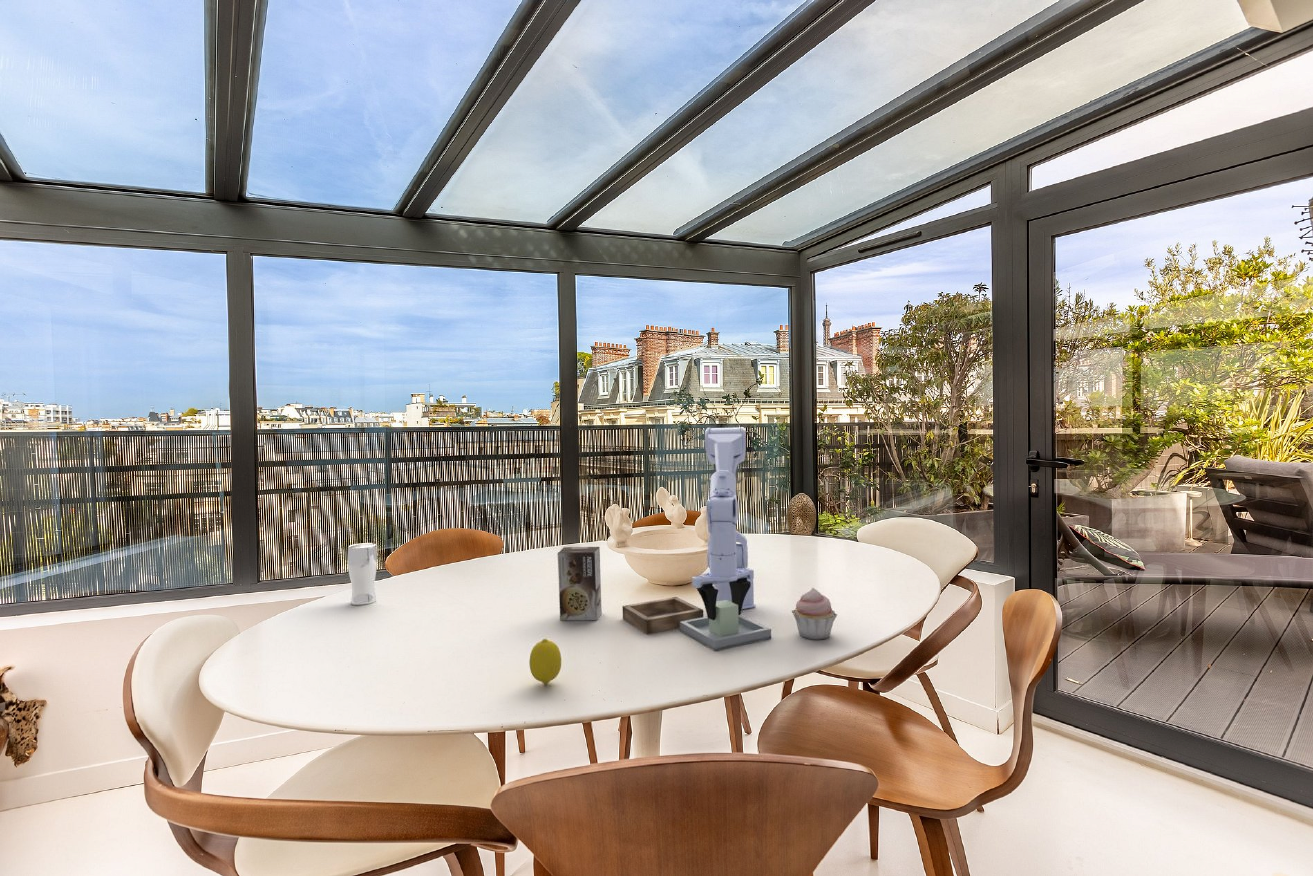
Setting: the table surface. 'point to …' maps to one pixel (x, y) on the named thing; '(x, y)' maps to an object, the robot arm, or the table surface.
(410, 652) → the table surface
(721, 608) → the block
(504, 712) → the table surface
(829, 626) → the cupcake
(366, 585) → the beer glass
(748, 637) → the tray
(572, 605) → the coffee box
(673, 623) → the frame
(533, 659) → the lemon
